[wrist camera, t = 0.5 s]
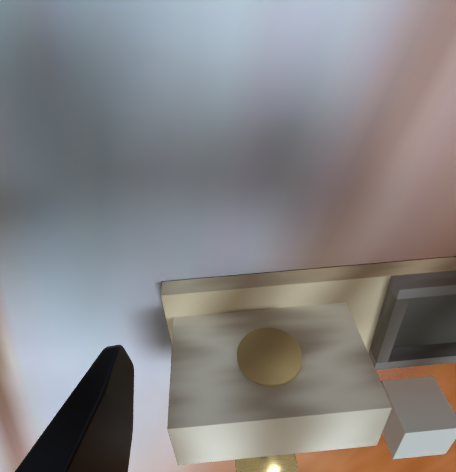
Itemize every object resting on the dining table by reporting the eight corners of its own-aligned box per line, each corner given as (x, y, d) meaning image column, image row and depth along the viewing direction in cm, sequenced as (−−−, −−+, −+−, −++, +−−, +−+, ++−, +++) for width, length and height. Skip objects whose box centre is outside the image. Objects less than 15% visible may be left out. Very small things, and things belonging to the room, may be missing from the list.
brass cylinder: (285, 388, 32) (302, 465, 27) (283, 417, 35) (297, 491, 30) (229, 394, 32) (235, 472, 27) (231, 422, 35) (238, 497, 30)
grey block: (433, 375, 32) (463, 427, 29) (419, 402, 35) (445, 453, 31) (381, 379, 32) (405, 433, 29) (372, 407, 35) (392, 459, 31)
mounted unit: (521, 251, 24) (643, 361, 17) (477, 331, 29) (560, 441, 22) (162, 281, 23) (149, 408, 17) (178, 358, 28) (173, 481, 22)
